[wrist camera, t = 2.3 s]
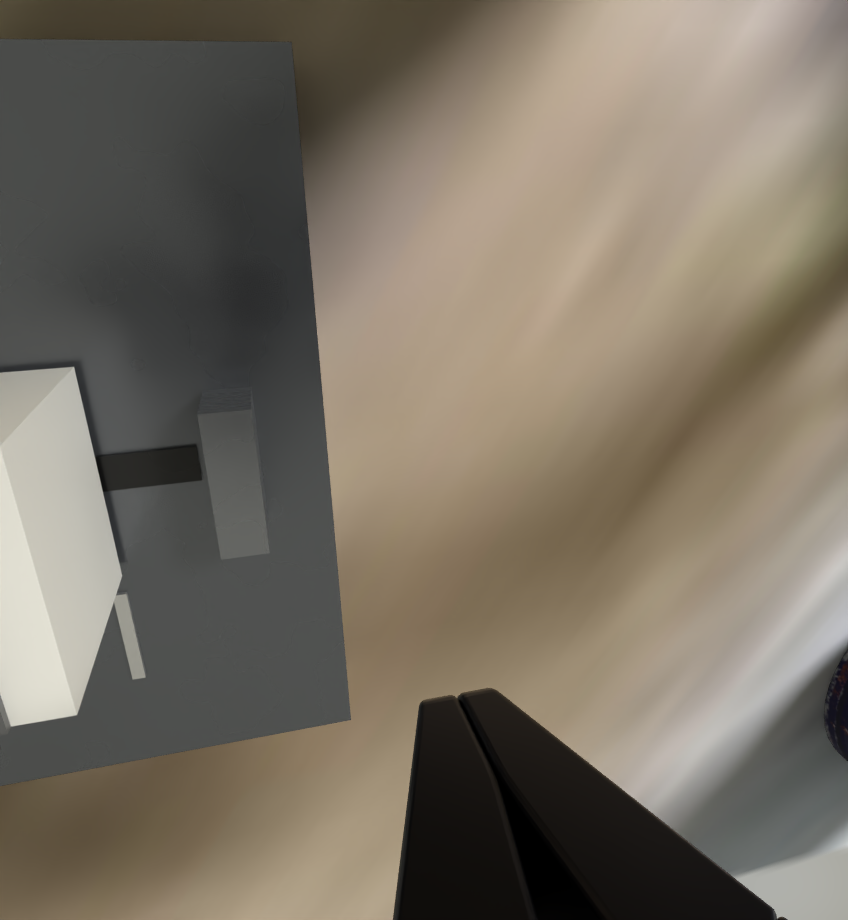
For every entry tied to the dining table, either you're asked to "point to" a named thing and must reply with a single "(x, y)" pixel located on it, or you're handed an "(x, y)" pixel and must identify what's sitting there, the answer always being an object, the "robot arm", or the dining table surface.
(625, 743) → the dining table surface
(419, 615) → the dining table surface
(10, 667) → the fader
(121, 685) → the console
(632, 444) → the dining table surface
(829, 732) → the storage jar
